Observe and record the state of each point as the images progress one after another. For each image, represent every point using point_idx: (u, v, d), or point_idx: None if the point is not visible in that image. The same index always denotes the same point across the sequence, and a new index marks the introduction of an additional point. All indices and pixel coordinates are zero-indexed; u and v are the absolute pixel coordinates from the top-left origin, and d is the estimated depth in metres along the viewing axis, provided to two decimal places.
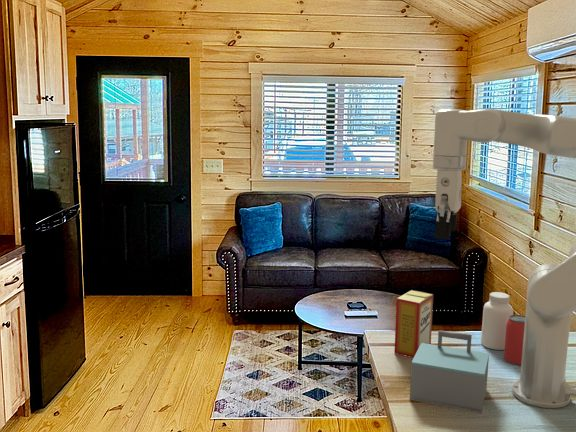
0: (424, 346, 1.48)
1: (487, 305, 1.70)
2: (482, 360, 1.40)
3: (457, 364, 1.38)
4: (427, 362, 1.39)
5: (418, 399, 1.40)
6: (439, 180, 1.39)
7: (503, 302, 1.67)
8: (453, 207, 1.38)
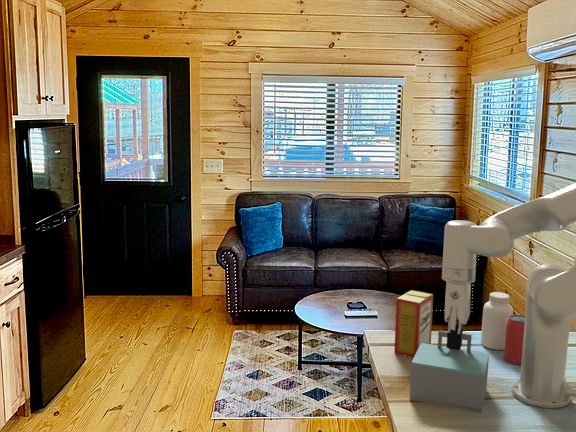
0: (424, 346, 1.48)
1: (487, 305, 1.70)
2: (482, 360, 1.40)
3: (457, 364, 1.38)
4: (427, 362, 1.39)
5: (418, 399, 1.40)
6: (448, 293, 1.40)
7: (503, 302, 1.67)
8: (462, 320, 1.39)
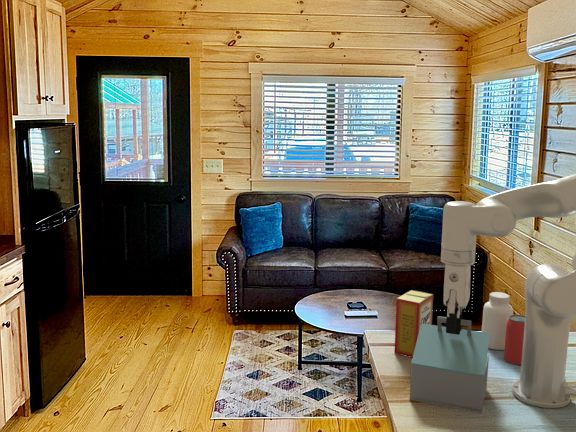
0: (424, 330, 1.46)
1: (487, 305, 1.70)
2: (483, 348, 1.38)
3: (457, 360, 1.37)
4: (427, 361, 1.38)
5: (418, 399, 1.40)
6: (447, 275, 1.36)
7: (503, 302, 1.67)
8: (461, 304, 1.35)
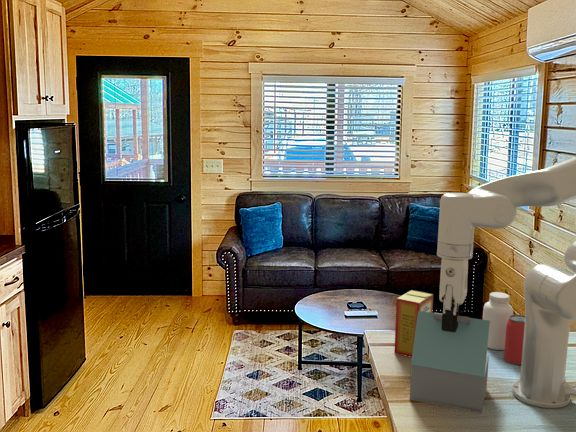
0: (421, 320, 1.41)
1: (487, 305, 1.70)
2: (482, 342, 1.35)
3: (456, 358, 1.35)
4: (426, 361, 1.37)
5: (418, 399, 1.40)
6: (444, 270, 1.30)
7: (503, 302, 1.68)
8: (458, 300, 1.29)
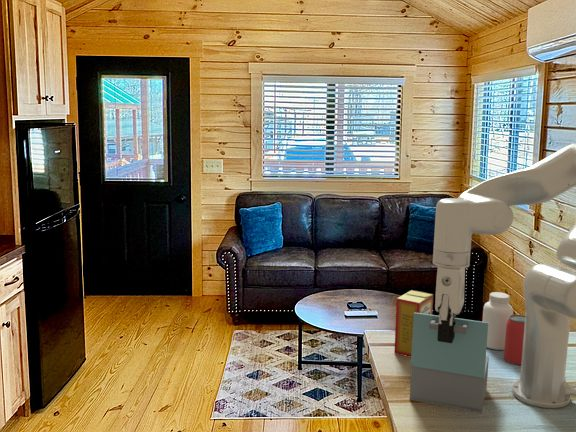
0: (418, 322, 1.36)
1: (487, 305, 1.70)
2: (481, 344, 1.32)
3: (456, 360, 1.34)
4: (426, 363, 1.37)
5: (418, 399, 1.40)
6: (440, 278, 1.25)
7: (503, 302, 1.67)
8: (454, 310, 1.24)
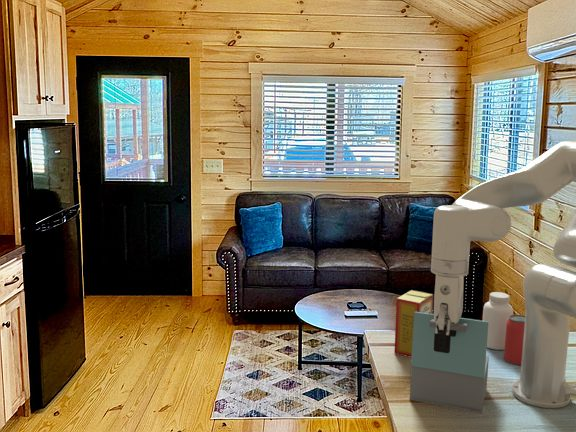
0: (418, 321, 1.37)
1: (487, 305, 1.70)
2: (481, 344, 1.32)
3: (456, 360, 1.34)
4: (426, 362, 1.37)
5: (418, 399, 1.40)
6: (438, 287, 1.23)
7: (503, 302, 1.68)
8: (453, 319, 1.22)
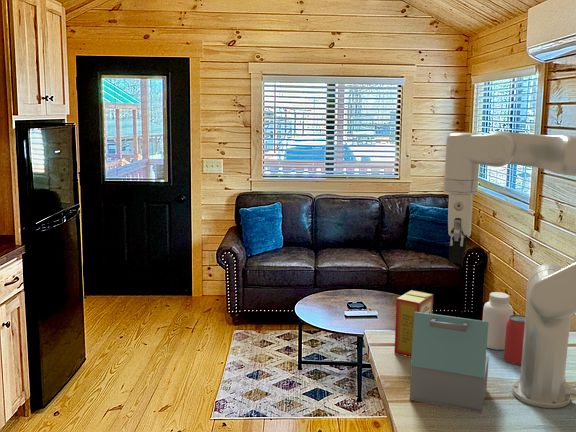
0: (418, 321, 1.37)
1: (487, 305, 1.70)
2: (481, 343, 1.32)
3: (456, 360, 1.34)
4: (426, 362, 1.37)
5: (418, 399, 1.40)
6: (452, 204, 1.38)
7: (503, 302, 1.68)
8: (466, 232, 1.37)
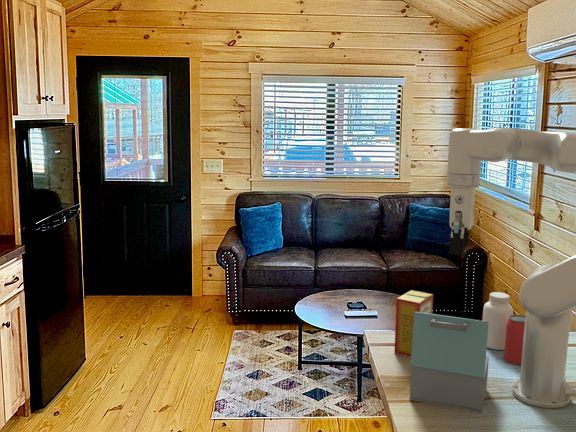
0: (418, 321, 1.37)
1: (487, 305, 1.70)
2: (481, 343, 1.32)
3: (456, 360, 1.34)
4: (426, 362, 1.37)
5: (418, 399, 1.40)
6: (453, 197, 1.42)
7: (503, 302, 1.68)
8: (467, 224, 1.42)
